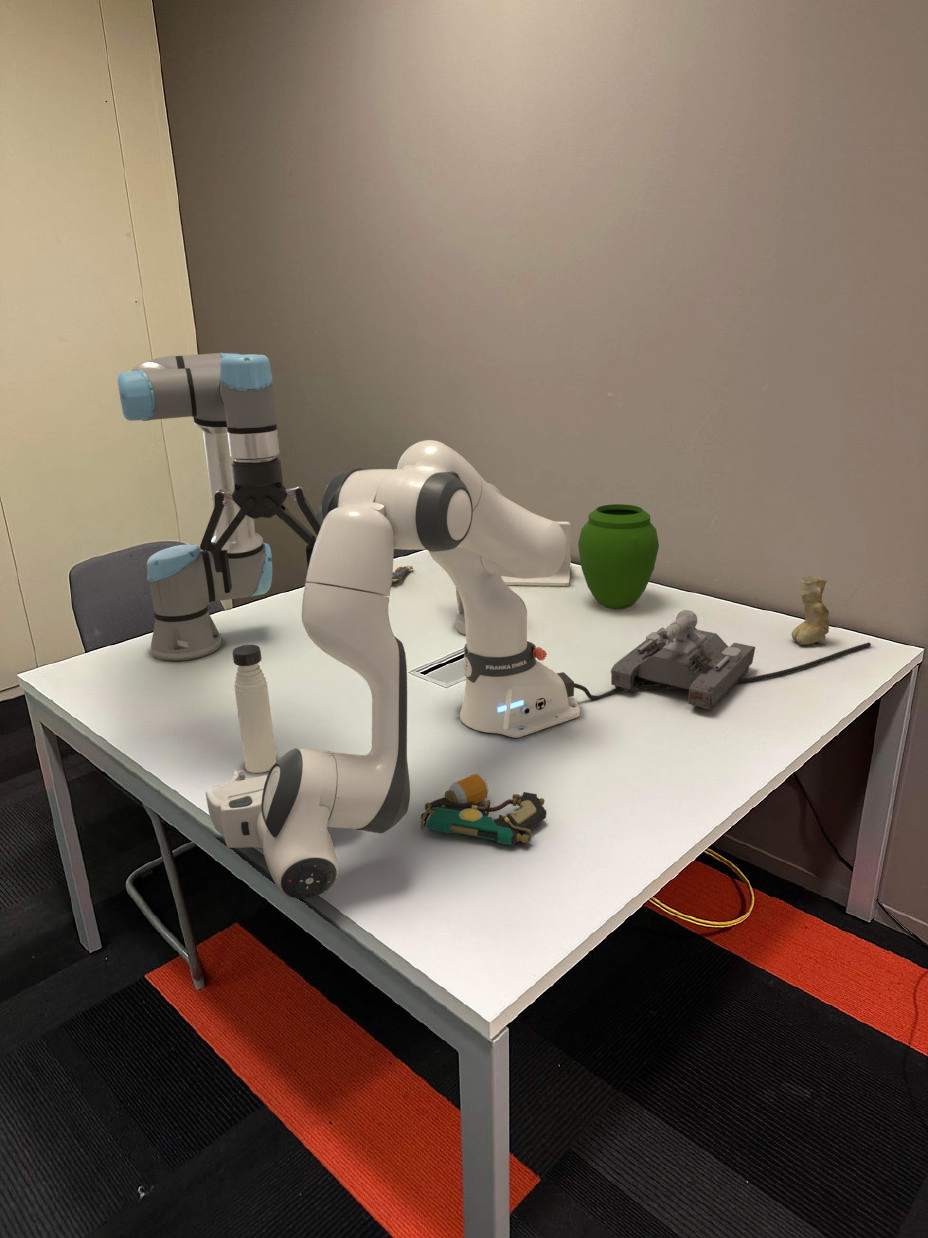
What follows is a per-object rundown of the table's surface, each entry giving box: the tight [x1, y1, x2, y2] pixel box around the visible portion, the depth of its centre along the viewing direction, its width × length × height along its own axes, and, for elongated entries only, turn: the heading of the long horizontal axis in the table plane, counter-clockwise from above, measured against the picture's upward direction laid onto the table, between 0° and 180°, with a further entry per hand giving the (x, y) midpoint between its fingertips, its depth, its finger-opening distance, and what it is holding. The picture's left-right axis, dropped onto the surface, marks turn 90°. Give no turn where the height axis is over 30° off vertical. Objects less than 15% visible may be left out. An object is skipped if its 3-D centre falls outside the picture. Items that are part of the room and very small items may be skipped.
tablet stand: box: [501, 521, 572, 587], centre depth 236 cm, size 18×25×17 cm
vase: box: [577, 503, 660, 610], centre depth 210 cm, size 20×20×24 cm
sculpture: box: [791, 575, 830, 646], centre depth 185 cm, size 6×7×15 cm
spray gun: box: [420, 773, 547, 846], centre depth 126 cm, size 4×17×15 cm
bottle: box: [234, 663, 278, 774], centre depth 141 cm, size 5×5×21 cm
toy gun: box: [392, 565, 414, 583], centre depth 238 cm, size 3×19×10 cm
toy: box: [610, 609, 756, 711], centre depth 169 cm, size 25×20×15 cm
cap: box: [232, 644, 263, 667], centre depth 138 cm, size 4×4×2 cm
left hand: (270, 588), depth 140 cm, fingers open, 13 cm apart
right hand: (270, 767), depth 132 cm, fingers open, 8 cm apart
